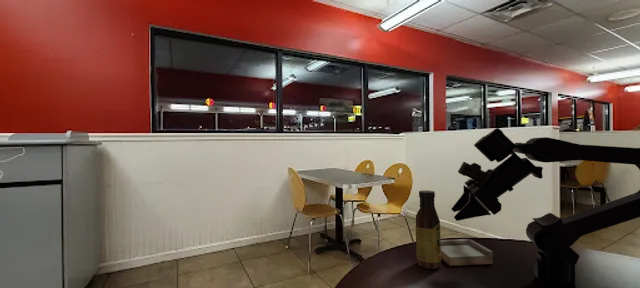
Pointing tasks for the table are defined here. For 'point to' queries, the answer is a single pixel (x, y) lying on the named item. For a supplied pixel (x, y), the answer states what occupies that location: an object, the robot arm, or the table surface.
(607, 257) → the table surface
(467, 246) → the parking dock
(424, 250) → the sauce bottle
